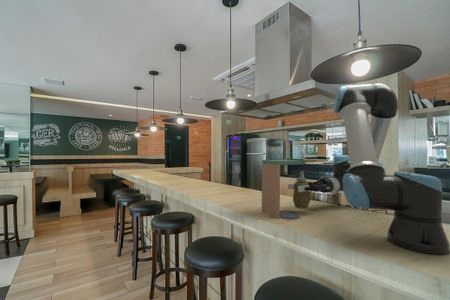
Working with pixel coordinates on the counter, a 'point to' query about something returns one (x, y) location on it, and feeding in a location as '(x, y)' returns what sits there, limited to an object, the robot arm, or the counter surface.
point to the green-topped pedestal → (273, 185)
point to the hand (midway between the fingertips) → (293, 187)
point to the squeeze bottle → (301, 193)
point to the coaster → (289, 214)
